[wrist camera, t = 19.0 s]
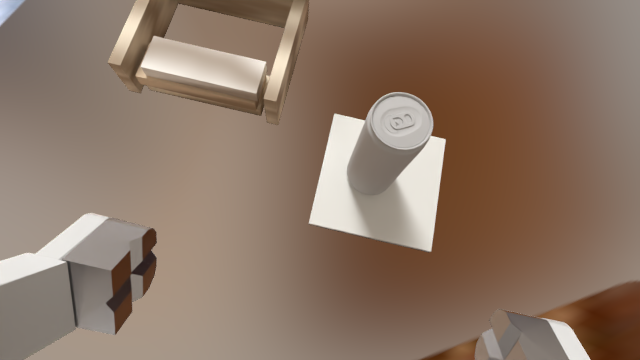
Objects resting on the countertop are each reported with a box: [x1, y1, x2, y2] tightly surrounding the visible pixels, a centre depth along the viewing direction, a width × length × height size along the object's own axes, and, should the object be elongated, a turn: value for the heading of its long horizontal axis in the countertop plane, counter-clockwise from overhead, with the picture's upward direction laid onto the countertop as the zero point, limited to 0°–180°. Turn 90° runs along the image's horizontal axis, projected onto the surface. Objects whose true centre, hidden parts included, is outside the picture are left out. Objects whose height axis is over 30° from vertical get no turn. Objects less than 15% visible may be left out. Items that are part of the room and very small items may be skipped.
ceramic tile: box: [309, 114, 445, 252], centre depth 39 cm, size 12×12×1 cm
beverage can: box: [347, 92, 433, 195], centre depth 33 cm, size 5×5×12 cm
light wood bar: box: [135, 36, 270, 115], centre depth 39 cm, size 4×12×4 cm, turn 78°
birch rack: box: [108, 0, 309, 125], centre depth 38 cm, size 14×16×9 cm
